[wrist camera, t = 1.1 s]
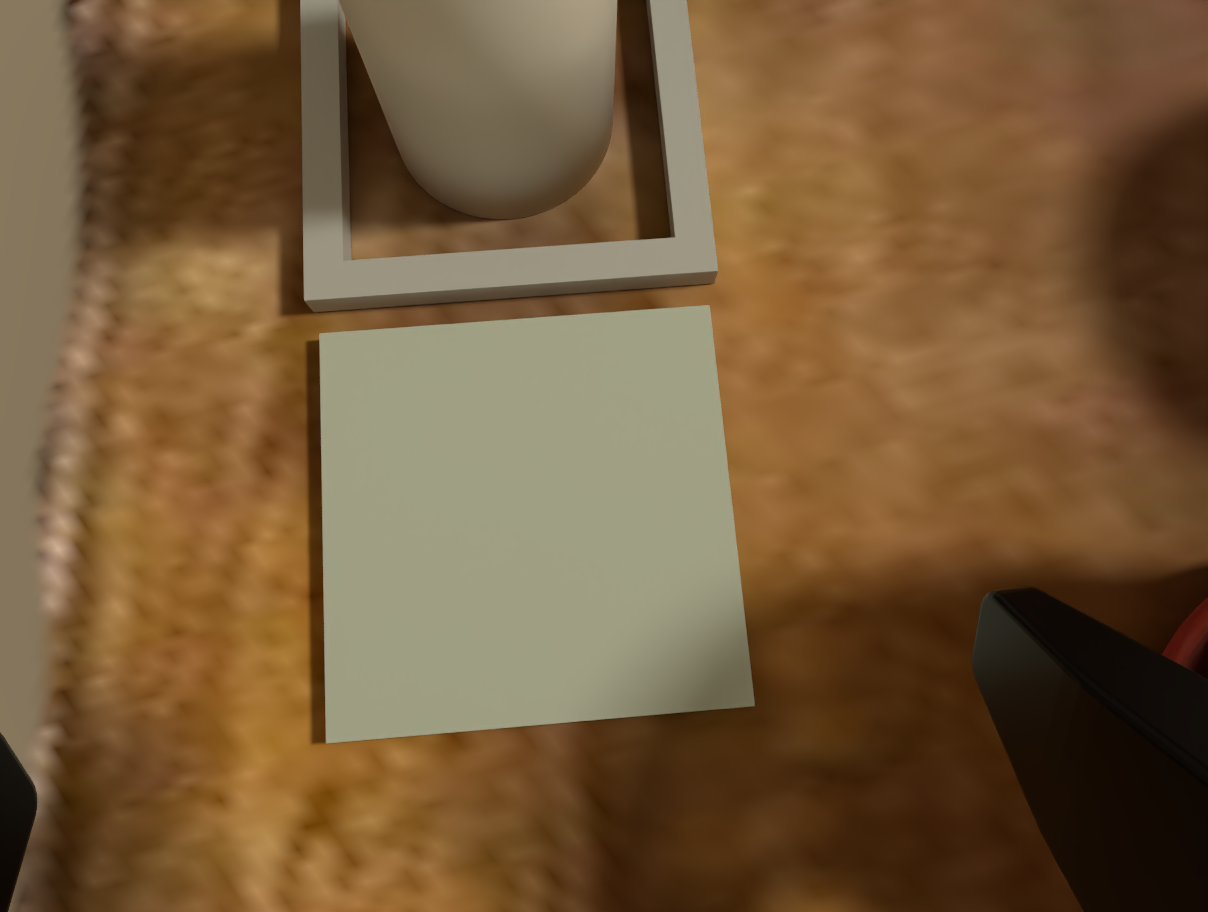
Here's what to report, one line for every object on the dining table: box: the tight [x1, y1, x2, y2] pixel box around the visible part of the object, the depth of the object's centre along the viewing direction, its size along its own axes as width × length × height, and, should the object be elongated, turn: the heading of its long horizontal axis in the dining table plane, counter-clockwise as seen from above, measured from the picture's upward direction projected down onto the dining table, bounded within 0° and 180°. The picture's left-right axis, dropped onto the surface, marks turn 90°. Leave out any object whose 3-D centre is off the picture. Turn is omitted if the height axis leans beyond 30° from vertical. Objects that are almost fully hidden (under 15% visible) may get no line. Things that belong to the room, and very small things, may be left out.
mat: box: [319, 305, 755, 743], centre depth 21 cm, size 10×10×1 cm
